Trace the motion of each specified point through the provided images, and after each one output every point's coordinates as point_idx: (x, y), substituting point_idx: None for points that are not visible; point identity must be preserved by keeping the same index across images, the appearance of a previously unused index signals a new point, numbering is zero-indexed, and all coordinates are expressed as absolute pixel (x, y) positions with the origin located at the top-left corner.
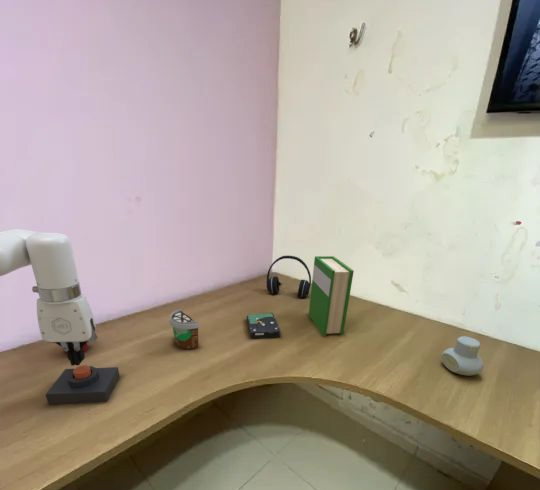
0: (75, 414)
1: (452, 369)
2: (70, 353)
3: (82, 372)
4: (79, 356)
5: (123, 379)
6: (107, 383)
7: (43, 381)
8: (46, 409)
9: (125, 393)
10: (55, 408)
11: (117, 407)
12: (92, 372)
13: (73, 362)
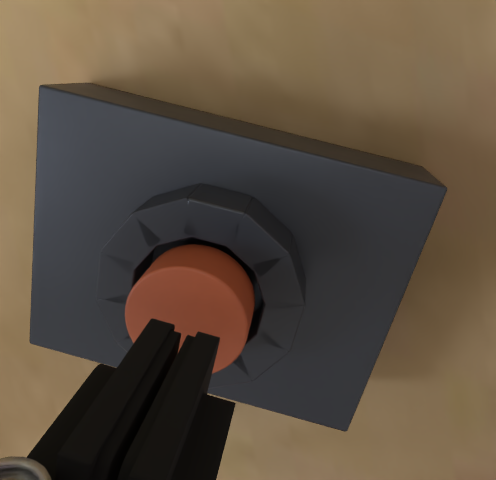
0: (251, 11)
1: None
2: (142, 451)
3: (165, 276)
4: (92, 400)
5: None
6: (44, 180)
7: (473, 401)
8: (433, 125)
9: (2, 137)
10: (380, 117)
11: (14, 5)
12: (128, 294)
13: (184, 353)
